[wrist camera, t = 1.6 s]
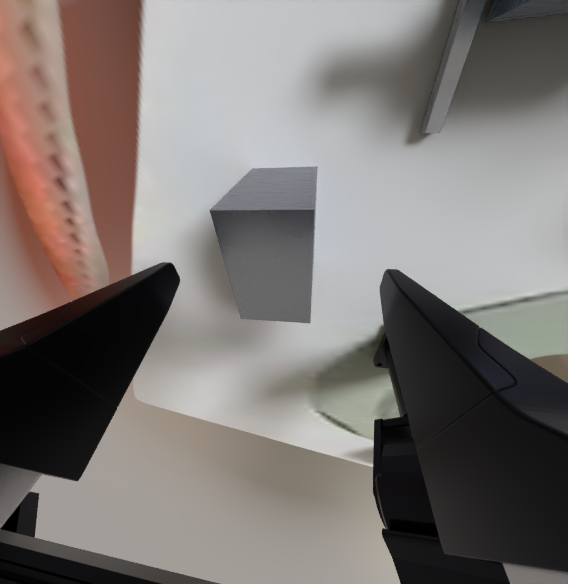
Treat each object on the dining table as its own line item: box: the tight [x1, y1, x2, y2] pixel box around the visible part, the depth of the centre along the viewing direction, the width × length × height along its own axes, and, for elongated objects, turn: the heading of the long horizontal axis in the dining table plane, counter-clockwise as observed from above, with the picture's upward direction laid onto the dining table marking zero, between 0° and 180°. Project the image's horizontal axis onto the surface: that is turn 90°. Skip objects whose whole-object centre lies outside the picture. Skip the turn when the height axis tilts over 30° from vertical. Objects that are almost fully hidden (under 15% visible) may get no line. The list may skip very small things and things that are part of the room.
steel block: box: [210, 167, 317, 323], centre depth 11 cm, size 4×6×6 cm, turn 3°
